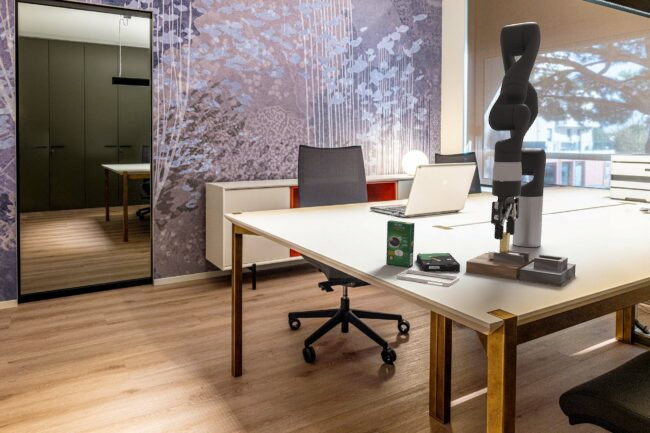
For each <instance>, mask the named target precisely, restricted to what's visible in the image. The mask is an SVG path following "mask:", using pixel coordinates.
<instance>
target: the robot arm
mask: <svg viewBox="0 0 650 433" xmlns="http://www.w3.org/2000/svg"><path fill="white" fill-rule="evenodd" d="M541 37H542V36H541V28H540V25H539V23H537V22H536V21H529V22H521V23H514V24H513V23H512V24H508V25H504V26H503V27H502V28H501V30H500V35H499V41H500V42H499V43H500V51H501V52H500V53H501V58H502V63H503V70H504V76H503V78H502V81H501V85H500V89H499V90H500V91H499V95H498V96H497V99H496V100H495V102H494V103H493V105H492V107H491V108H490V111H489V113H488V121H487V122H488V125H489V126H490V128H491V129H492V130H493V131H496V132H508V131H509V133H510V137H509V138H505V139H499V140H498V141H495V144H494V150H493V151H494V156H493V158H494V159H493V168H492V179H491V180H492V183H491V185H492V186H491V187H492V188H491V195H492V196H494V197H497V200H496V201H492V203H491V213H490V214H491V215H490V223H491V224H493V226H494V234H493V236H494V239H495V240H499V241H500V240H501V239H503V232H508V233H510V236H512V245H513V246H516V247H517V246H518V247H524V248H525V247H526V248H536V247H541V245H542V233H543V232H542V231H543V229H542V228H543V227H542V226H543V212H544V211H543V209H544V206H543V205H544V187H545V186H544V185H545V173H546V166H547V153H546V151H545V149H544V148H540V147H539V148H538V147H537V148H534V147H533V148H532V147H530V148H529V147H525V148H524V147H523V143H524V139H525V136H526V135H527V133H528V131H529V130H530V129H531V127H532V126H533V124H534V123H535V121H536V119H537V117H538V114H539V100H538V99H539V98H538V93H537V90H536V88H535V86H533V84H532V83H531V82H530V78H531V77H530V76H531V73H532V70H533V68H534V65H535V62H536V60H537V57H538V54H539V51H540V46H541V41H542V40H541ZM515 57H519V59H518V60H517V61H516V58H515ZM522 176H528V177H529V176H530V177H531V176H533V178H532V179H531V180H530V181H528V182H526V183H524V184H522V178H523V177H522ZM505 222H506V224H505ZM504 224H505V225H506V228H504ZM504 229H505V230H504Z"/></svg>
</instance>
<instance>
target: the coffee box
mask: <svg viewBox="0 0 650 433" xmlns="http://www.w3.org/2000/svg"><path fill="white" fill-rule="evenodd" d="M386 228H387V229H386V257H385V258H386V262H385V263H386V265H390V266H398V267H399V266H400V267H405V268H411V267H413V266H414V252H415V251H414V248H415V245H414V244H415V222H407V221H399V220H392V219H391V220H388V221H387V223H386Z"/></svg>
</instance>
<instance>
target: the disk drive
mask: <svg viewBox="0 0 650 433" xmlns="http://www.w3.org/2000/svg"><path fill="white" fill-rule="evenodd" d="M416 262H417V263H418V265H419V267H420V268H421V270H422V271H423V272H430V273H456V272H457V273H459V272H461V264H460V263H459V261H457V259H456V258H455V257H454V256H453V255H452V254H451V253H448V252H446V253H443V252H440V253H439V252H433V253H419V252H418V253H417V254H416Z"/></svg>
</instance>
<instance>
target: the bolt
mask: <svg viewBox="0 0 650 433" xmlns="http://www.w3.org/2000/svg"><path fill="white" fill-rule="evenodd" d="M510 237H511V235H510V233H508V232H506V231H504V232H503V239H501V240H499V250H496V249H495V250H493V249H492V250H489V251H488V253H489V257H488V258H489V259H493V254H494V252H499V253H506V254H514V255H520V254H519V253H511V252H509V250H510V242H511V241H510Z"/></svg>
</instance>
